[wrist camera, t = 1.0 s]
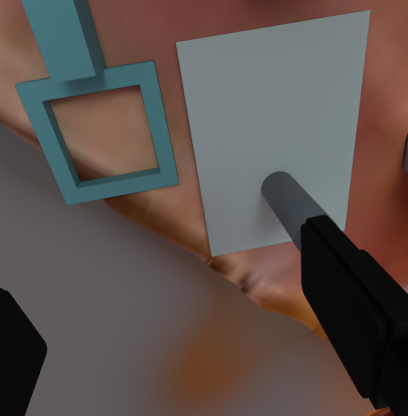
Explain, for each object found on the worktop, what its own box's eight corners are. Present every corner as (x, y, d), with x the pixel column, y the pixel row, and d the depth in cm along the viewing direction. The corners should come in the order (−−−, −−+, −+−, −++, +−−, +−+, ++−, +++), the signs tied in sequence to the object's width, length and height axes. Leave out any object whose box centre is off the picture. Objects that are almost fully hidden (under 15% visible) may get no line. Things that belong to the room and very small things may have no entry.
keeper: (175, 42, 25) (186, 46, 14) (362, 11, 25) (501, -7, 15) (210, 250, 36) (230, 336, 26) (339, 225, 36) (410, 299, 26)
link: (-8, 11, 22) (-49, 5, 18) (139, -12, 23) (134, -24, 18) (70, 198, 30) (56, 224, 26) (178, 178, 31) (181, 201, 26)
